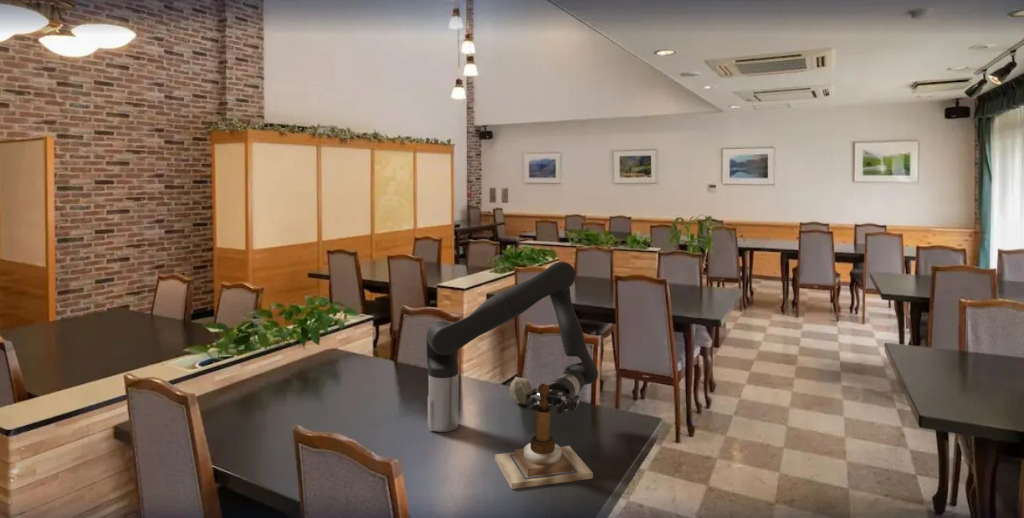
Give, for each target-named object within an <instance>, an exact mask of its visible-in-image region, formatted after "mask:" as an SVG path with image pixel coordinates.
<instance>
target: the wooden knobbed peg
mask: <svg viewBox="0 0 1024 518" xmlns="http://www.w3.org/2000/svg"><path fill="white" fill-rule="evenodd" d="M537 392H539V394H540V396H541V400H539V402H540V405H539V406H538V407H536V409H535V435H534V436H533V437H532V438H531V439H530V443H531V450H532V451H533V452H535V453H538V454H549V453H551V452H553V451H554V450H555V444H556V441H555V439H554V438H553V437H552V436H551V425H552V423H551V422H552V420H551V419H552V417H551V416H552V415H551V414H552V409H551V408H550V407H549V406H548V400H547V399H546V397H547V395H548V393H549V384H547V383H541V384H539V386H538V388H537Z"/></svg>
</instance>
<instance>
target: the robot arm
mask: <svg viewBox="0 0 1024 518" xmlns="http://www.w3.org/2000/svg"><path fill="white" fill-rule="evenodd" d="M575 280H576V270H575V267H573V265H572V264H570V263H568V262H566V261H558V262H555V263H553V264H551V265H550V266H549V267H547V268H545V269H544V270H542V271H541V272H539V273H538V274H536V275H535V276H533V277H531V278H529V279H528V280H526V281H525V280H524V281H522V282H520V283H517V284H516V285H513V286H511V287H509V288H507V289H504V290H503V291H501V292H498V293H496V294H494V295H493V296H490V297H489V298H488V299H486V300H485V301H483V302H482V303H481V304H480V305H479V306H478V307H477V308H476V309H475V310H474V311H473V312H471V313H470V314H469V315H467V316H465V317H463V318H462V319H459V320H457V321H455V322H453V323H450V322H448V321H444V320H439V321H436V322H434V323H432V324H431V325H430V327H429V328H428V330H427V333H426V362H427V363H426V364H427V368H428V370H427V371H428V395H427V426H428V429H429V431H430V432H438V433H447V432H451V431H452V432H453V431H454V430H456V429H458V427H459V365H458V360H457V351H458V350H460V349H462V348H463V347H464V346H466V345H468V344H469V343H470V342H472V341H473V340H475V339H476V338H478V337H480V336H482V335H484V334H486V333H488V332H490V331H492V330H494V329H495V328H498V327H500V326H502V325H504V324H506V323H507V322H510V321H511V320H514V319H515V318H517V317H518V316H520V315H521V314H523V313H525V312H526V311H528V310H529V309H530V308H531V307H533V306H534V305H535V304H537V303H538V302H539V301H541V300H542V299H544V298H546V297H548V296H549V298H550V300H551V303H552V306H553V309H554V313H555V316H556V319H557V323H558V328H559V334H560V339H561V343H562V347H563V351H564V353H565V356H567V357H577V358H579V360H580V361H581V362H578V363H572V364H570V365H567V366H566V367H565V368H564V370H563V373H562V375H559V376H558V377H556V378H555V379H554V380H553V381H552V382H551V383H549V384H548V386H549V393H548V395H547V397H546V399H547V400H548V404H547V406H548V405H549V406H551V405H552V406H553V407H556V414H557V415H561V414H563V413H564V412H567V411H568V410H570V412H575V411H576V409H577V408H578V407H579V405H580V395H578V394H579V393H580V392H581V390H583V389H584V386H587V385H592V384H594V383H596V382H597V380H598V377H599V371H598V368H597V366H596V364H595V361H594V360H593V359H592V356H591V355H590V353H589V350H588V348H587V345H586V341H585V340H586V339H585V336H584V333H583V328H582V326H581V322H580V320H579V318H578V316H577V314H576V312H575V310H574V306H573V303H572V302H573V301H572V297H571V287H572V286H573V285H574V282H575ZM539 400H541V396H540V394H539V392H538V388H532V390H531V391H530V392H528V393H527V394H526V404H525V407H526V409H527V410H531V409H532V408H534V406H536V405H537V406H540V402H539Z"/></svg>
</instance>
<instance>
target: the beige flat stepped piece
mask: <svg viewBox="0 0 1024 518" xmlns="http://www.w3.org/2000/svg"><path fill="white" fill-rule="evenodd" d="M494 460H495V462H496V463H497V466H498V467H499V470H500V471H501V473H502V475H503V476H504V478H505V480H506V482H507V483H508V485H509V486H510V489H511V490H515V489H524V488H531V487H538V486H545V485H553V484H560V483H568V482H569V483H570V482H576V481H583V480H590V479H594V472H593V471H592V470H591V469H590V468H589V467H588V466H587V464H586V463H585V462H584V461H583V460H582V459H581V457H580V456H579V455H578V454H577V453H576V452H575V450H573V448H572V447H571V446H570V445H565V446H559V445H558V444H557V443H555V450H554V451H553V452H551V453H549V454H538V453H535V452H533V451H532V450H531V442H529V443H528V444H526V445H525V446H524V447H523V448H517V449H514V452H503V453H497V454H494Z"/></svg>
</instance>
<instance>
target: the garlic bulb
mask: <svg viewBox="0 0 1024 518" xmlns="http://www.w3.org/2000/svg"><path fill="white" fill-rule="evenodd" d="M531 390H533V388H532V386H531V383H530V381H529V380H528V379H527V378H525V377H519V376H515V377H514V378H513V380H512V381H511V383H510V385H509V393H510V396H511V398H513V401H514V403H515V404H517V405H526V394H527V393H528V392H530V391H531Z"/></svg>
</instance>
